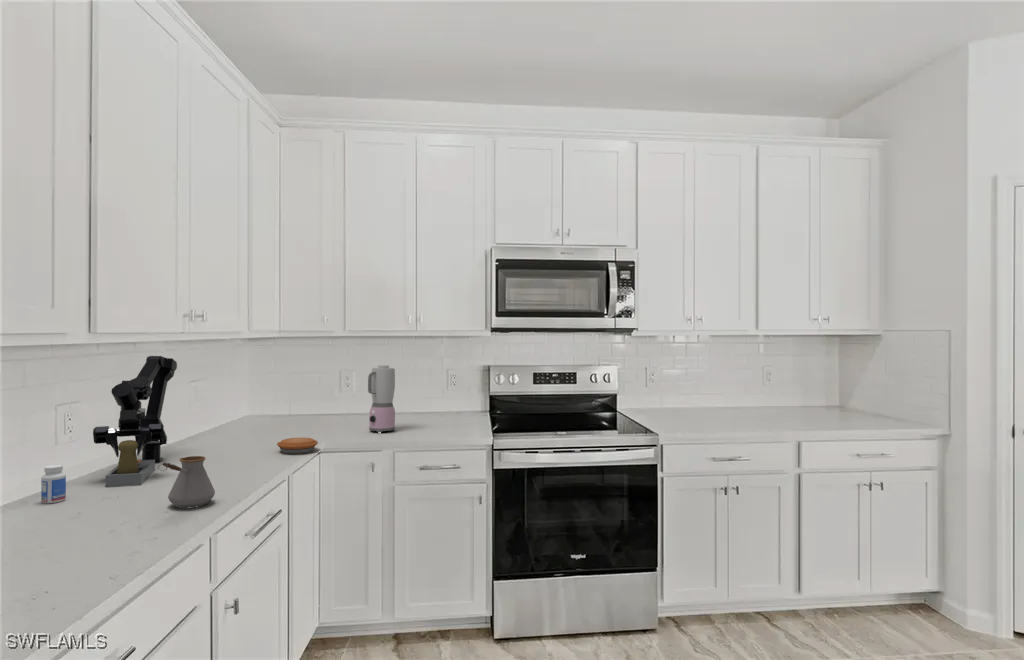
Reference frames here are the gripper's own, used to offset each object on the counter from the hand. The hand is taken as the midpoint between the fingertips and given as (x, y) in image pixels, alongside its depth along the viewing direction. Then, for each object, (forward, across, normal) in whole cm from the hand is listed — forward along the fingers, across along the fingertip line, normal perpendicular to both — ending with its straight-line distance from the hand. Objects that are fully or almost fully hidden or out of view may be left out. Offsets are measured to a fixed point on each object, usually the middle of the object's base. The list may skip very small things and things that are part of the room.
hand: (127, 455), depth 184 cm
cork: (+4, 0, +6) cm, 7 cm away
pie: (-13, +56, +26) cm, 63 cm away
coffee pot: (+32, +14, -20) cm, 41 cm away
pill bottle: (+16, -16, -3) cm, 23 cm away
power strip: (+2, +1, +11) cm, 11 cm away
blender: (-34, +99, +48) cm, 115 cm away
